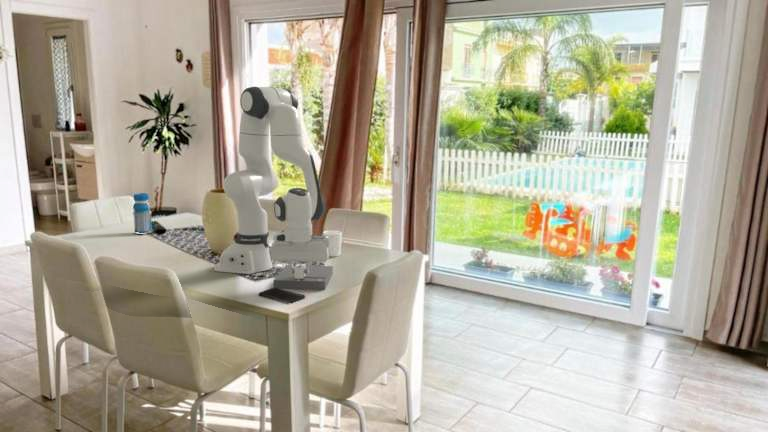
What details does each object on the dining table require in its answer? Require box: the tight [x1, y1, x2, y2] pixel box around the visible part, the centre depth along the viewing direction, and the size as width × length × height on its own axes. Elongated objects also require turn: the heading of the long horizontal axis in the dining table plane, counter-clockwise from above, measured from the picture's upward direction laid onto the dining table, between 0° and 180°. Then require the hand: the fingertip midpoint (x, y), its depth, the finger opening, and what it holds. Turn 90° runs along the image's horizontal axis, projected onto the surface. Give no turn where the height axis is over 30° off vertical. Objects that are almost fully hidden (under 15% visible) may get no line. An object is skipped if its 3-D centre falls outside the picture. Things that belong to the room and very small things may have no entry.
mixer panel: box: [273, 264, 334, 291], centre depth 210 cm, size 18×20×3 cm
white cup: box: [322, 230, 343, 258], centre depth 248 cm, size 8×8×10 cm
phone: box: [258, 287, 306, 304], centre depth 192 cm, size 8×1×15 cm
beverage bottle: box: [132, 192, 153, 233], centre depth 286 cm, size 8×8×20 cm
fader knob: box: [295, 263, 307, 279], centre depth 204 cm, size 3×5×4 cm, turn 177°
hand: (300, 273), depth 204 cm, fingers closed on fader knob, 3 cm apart
